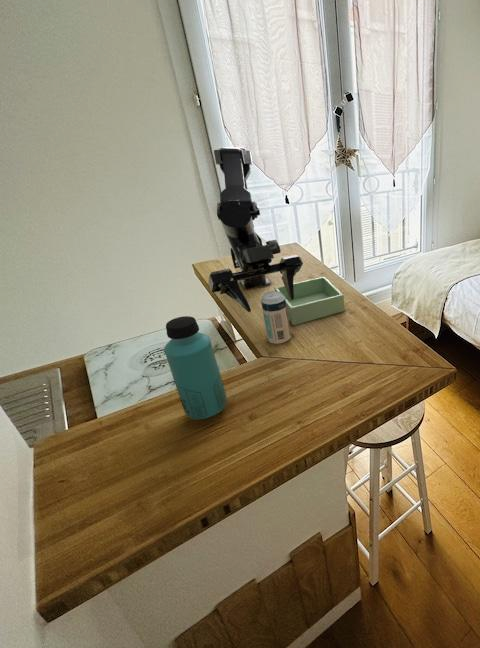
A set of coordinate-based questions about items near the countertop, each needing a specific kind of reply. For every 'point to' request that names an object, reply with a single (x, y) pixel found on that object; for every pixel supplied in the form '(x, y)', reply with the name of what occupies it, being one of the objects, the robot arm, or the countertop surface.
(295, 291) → the bin
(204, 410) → the beverage bottle
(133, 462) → the countertop surface
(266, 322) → the labeled cylindrical canister
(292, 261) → the robot arm
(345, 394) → the countertop surface
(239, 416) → the countertop surface
